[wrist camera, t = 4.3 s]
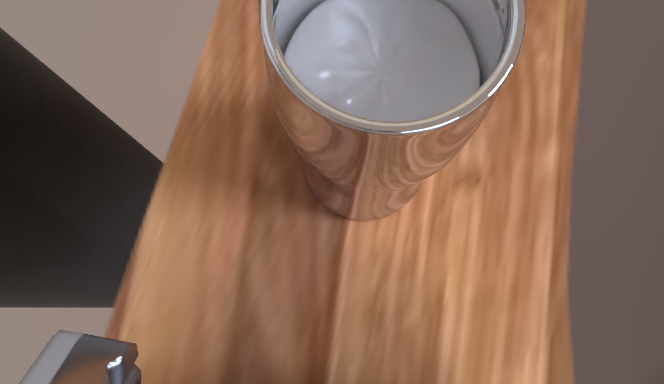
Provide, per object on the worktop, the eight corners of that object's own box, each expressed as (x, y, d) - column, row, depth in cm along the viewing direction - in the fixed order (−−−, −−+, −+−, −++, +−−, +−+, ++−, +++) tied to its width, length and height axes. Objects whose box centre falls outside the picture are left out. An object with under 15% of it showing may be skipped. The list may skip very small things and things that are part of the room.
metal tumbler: (457, 136, 29) (582, -43, 14) (391, 255, 27) (453, 196, 13) (338, 73, 29) (338, -161, 15) (269, 186, 28) (195, 56, 14)
